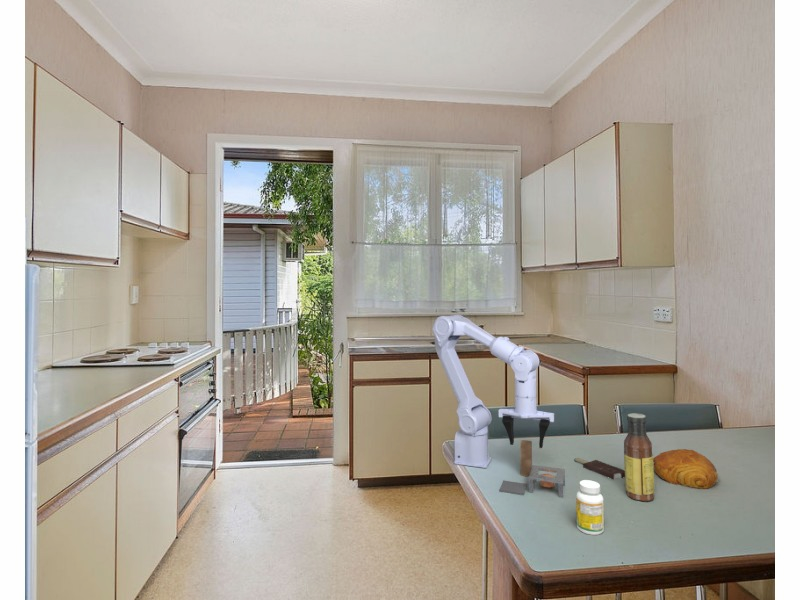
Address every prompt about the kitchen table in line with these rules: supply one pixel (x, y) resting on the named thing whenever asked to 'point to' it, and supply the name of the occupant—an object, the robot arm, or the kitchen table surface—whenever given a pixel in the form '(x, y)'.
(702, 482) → the croissant
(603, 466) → the ice cream bar
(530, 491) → the guard frame
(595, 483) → the supplement bottle
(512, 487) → the pad
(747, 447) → the kitchen table surface
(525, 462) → the stylus stick
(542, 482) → the button
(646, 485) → the sauce bottle
